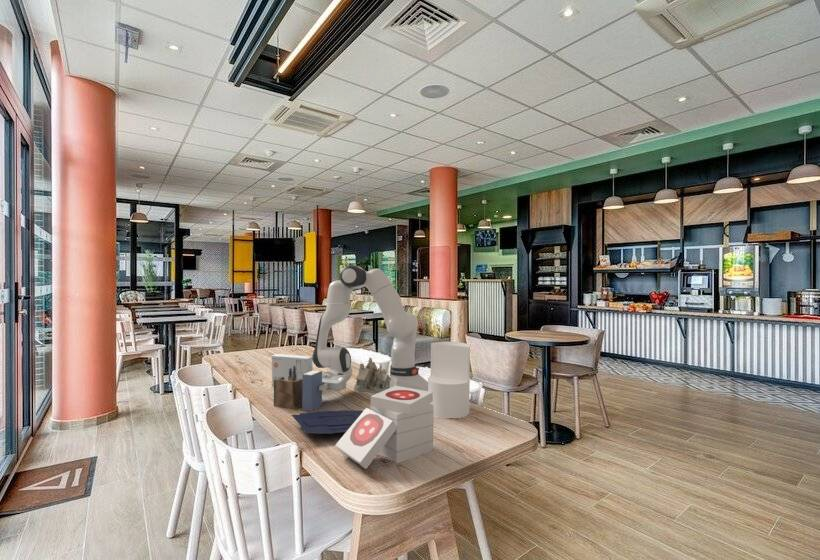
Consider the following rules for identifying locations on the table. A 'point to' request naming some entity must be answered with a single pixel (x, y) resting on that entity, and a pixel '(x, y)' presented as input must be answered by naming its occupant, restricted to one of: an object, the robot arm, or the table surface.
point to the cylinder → (450, 379)
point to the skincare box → (290, 366)
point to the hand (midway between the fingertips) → (312, 387)
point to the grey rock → (371, 378)
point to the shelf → (287, 393)
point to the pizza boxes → (391, 427)
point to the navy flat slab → (327, 421)
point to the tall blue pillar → (311, 390)
